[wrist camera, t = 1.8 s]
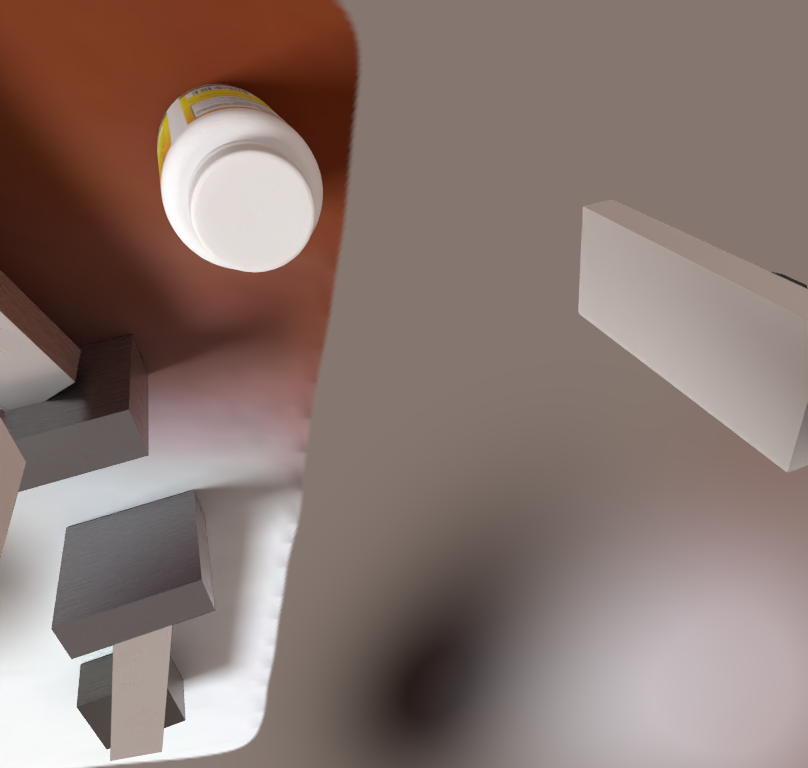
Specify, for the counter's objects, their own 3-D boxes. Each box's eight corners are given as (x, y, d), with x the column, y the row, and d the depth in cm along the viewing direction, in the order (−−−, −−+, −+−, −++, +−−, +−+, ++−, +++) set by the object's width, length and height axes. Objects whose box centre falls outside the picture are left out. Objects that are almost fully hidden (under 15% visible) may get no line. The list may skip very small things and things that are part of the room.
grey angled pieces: (109, 708, 44) (103, 814, 38) (-320, 59, 22) (-482, 85, 16) (258, 654, 46) (273, 747, 41) (6, 15, 24) (-37, 24, 18)
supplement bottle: (222, 235, 31) (250, 327, 22) (127, 140, 27) (120, 207, 19) (310, 157, 30) (372, 221, 22) (225, 51, 27) (260, 80, 19)
